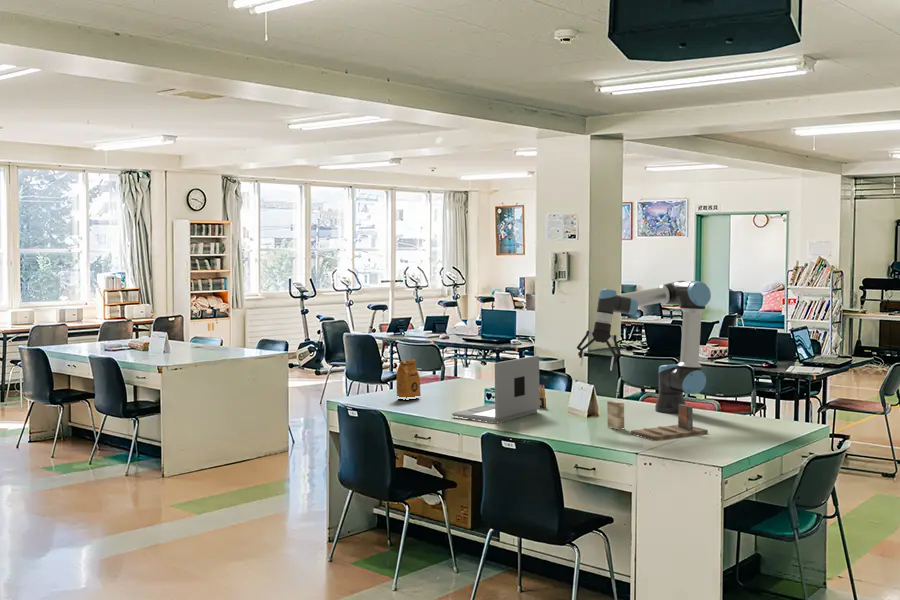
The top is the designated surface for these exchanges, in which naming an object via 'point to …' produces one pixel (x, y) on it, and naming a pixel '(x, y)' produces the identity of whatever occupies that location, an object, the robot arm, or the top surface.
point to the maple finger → (615, 414)
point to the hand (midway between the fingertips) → (596, 368)
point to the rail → (673, 427)
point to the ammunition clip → (542, 397)
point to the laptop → (511, 392)
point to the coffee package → (408, 379)
